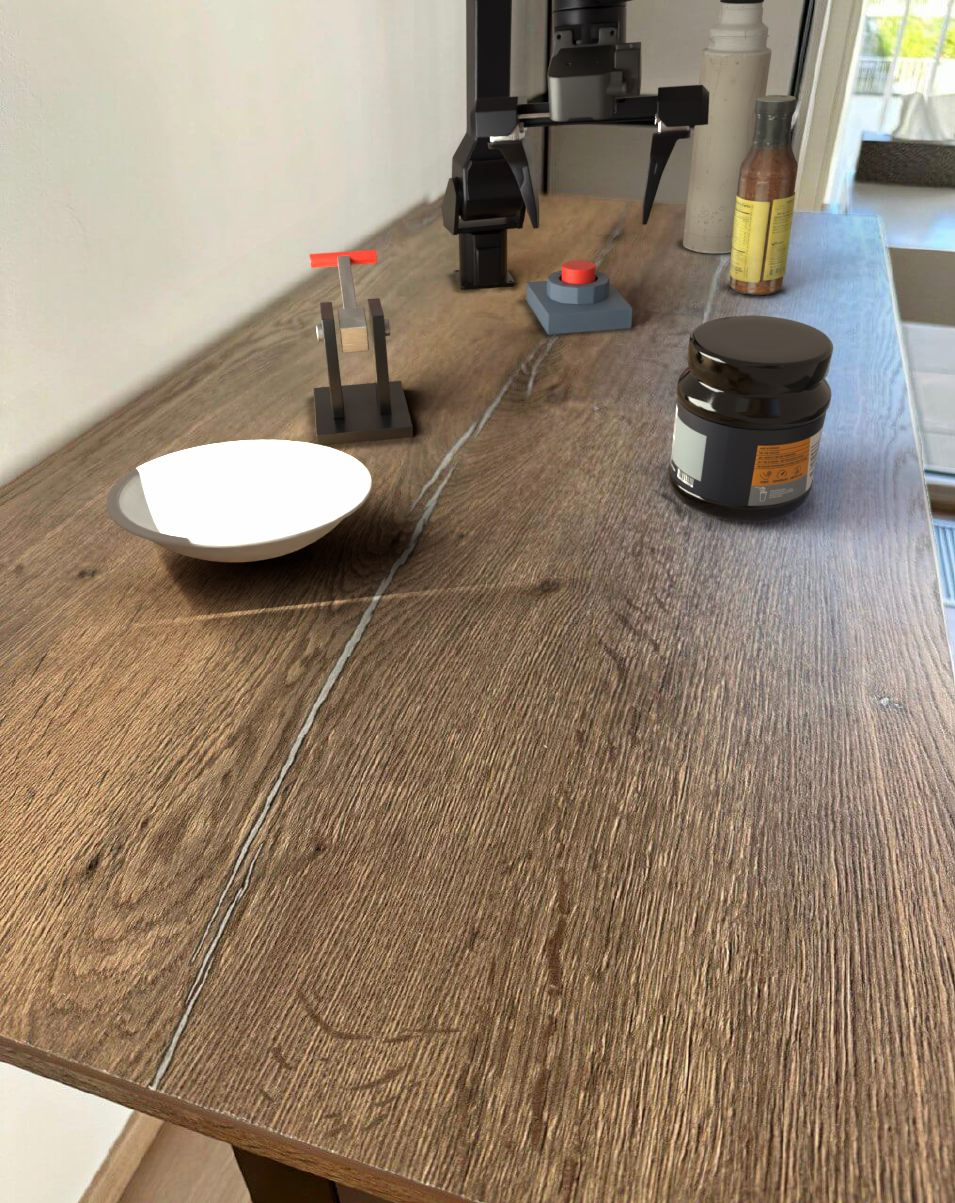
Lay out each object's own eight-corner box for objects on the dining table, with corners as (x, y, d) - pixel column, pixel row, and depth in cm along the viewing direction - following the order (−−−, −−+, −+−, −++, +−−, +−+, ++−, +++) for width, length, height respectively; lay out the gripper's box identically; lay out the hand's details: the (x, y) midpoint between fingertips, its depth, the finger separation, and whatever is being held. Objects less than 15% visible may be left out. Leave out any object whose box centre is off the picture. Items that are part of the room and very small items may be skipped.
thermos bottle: (737, 236, 128) (770, -11, 112) (750, 253, 122) (787, -6, 106) (678, 237, 129) (702, -9, 112) (688, 254, 122) (715, -5, 106)
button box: (526, 301, 109) (526, 265, 106) (603, 295, 110) (605, 260, 107) (547, 335, 100) (548, 297, 97) (631, 328, 101) (634, 290, 99)
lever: (311, 269, 87) (308, 245, 85) (376, 265, 88) (375, 240, 86) (319, 355, 79) (316, 330, 77) (391, 349, 80) (390, 324, 78)
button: (558, 277, 104) (558, 261, 103) (590, 275, 104) (590, 258, 103) (565, 287, 101) (566, 271, 100) (599, 285, 101) (599, 268, 100)
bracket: (314, 399, 88) (301, 293, 82) (401, 392, 89) (394, 286, 83) (318, 448, 80) (303, 333, 74) (413, 439, 81) (406, 325, 75)
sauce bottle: (778, 280, 113) (808, 92, 101) (786, 298, 108) (819, 101, 96) (721, 280, 113) (745, 92, 102) (727, 297, 108) (753, 102, 97)
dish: (92, 610, 61) (71, 545, 58) (157, 499, 73) (143, 440, 70) (365, 609, 61) (358, 542, 58) (387, 497, 73) (382, 437, 70)
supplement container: (839, 511, 69) (876, 352, 62) (713, 541, 67) (737, 378, 60) (756, 450, 78) (780, 304, 71) (641, 474, 75) (654, 324, 68)
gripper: (449, 14, 69) (463, 244, 76) (716, -8, 65) (704, 236, 72) (478, 22, 78) (488, 225, 86) (712, 3, 75) (702, 217, 82)
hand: (589, 226), depth 81 cm, fingers open, 9 cm apart
